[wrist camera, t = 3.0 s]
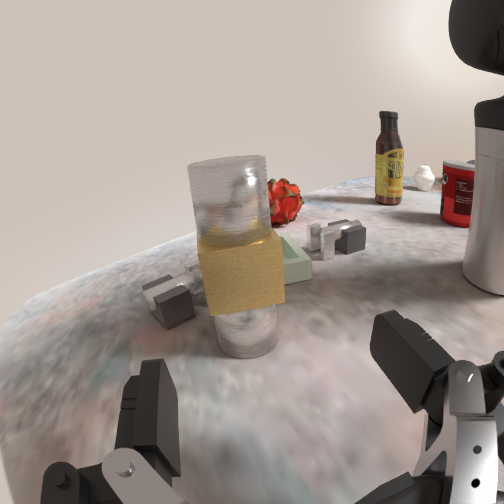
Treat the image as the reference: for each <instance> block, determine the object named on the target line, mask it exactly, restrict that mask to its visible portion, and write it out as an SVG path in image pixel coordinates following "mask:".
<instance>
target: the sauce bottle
mask: <svg viewBox="0 0 504 504" xmlns="http://www.w3.org/2000/svg"><path fill="white" fill-rule="evenodd" d="M379 113H380V114H379V116H380V119H381V133H380V135H379V137H378V139H377V141H376V175H375V193H376V196H375V199H376V201H377V202H379V203H382V204H391V205H392V204H393V205H394V204H399V203H400V202H401V198H402V190H403V155H404V154H403V153H404V151H403V147H402V144H401V141H400V138H399V135H398V128H397V119H398V113H397V112H390V111H380V112H379Z"/></svg>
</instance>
